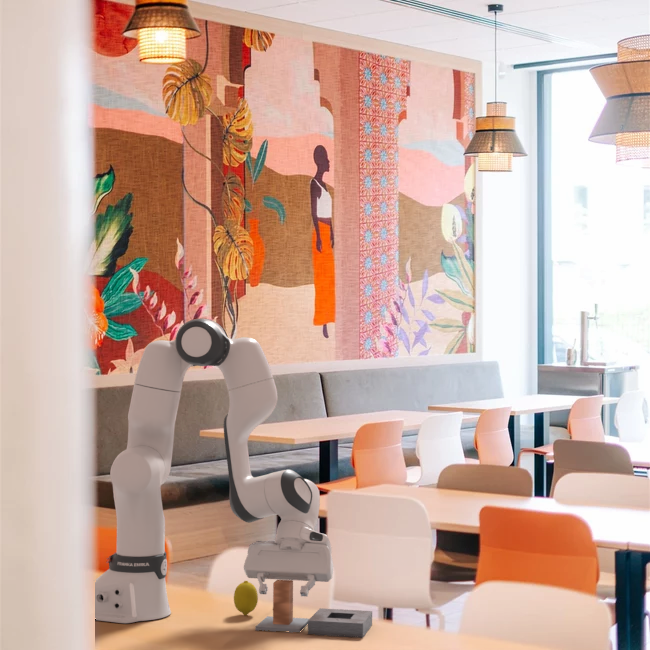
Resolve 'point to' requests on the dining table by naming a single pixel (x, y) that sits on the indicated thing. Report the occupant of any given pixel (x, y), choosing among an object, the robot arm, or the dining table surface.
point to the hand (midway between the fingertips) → (283, 593)
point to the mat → (292, 627)
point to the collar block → (340, 622)
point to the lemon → (245, 597)
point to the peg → (283, 602)
